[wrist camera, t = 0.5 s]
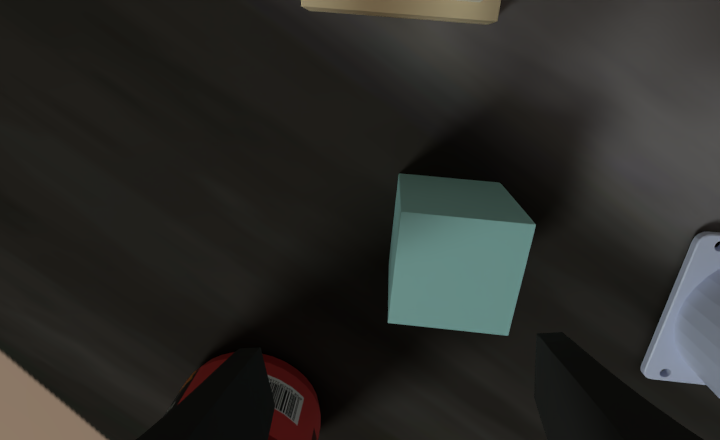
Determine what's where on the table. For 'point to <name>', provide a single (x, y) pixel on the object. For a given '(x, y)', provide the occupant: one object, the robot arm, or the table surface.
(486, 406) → the table surface
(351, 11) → the oak slab
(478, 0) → the cream slab
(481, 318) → the teal block
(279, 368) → the canned food
